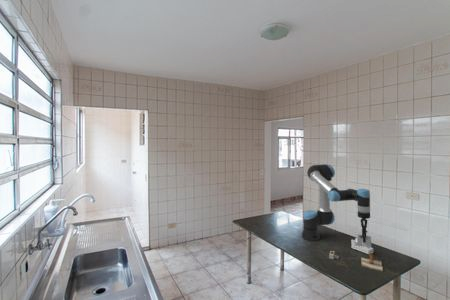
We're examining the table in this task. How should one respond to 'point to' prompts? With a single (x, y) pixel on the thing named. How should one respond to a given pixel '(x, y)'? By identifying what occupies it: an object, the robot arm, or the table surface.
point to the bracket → (361, 247)
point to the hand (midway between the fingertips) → (364, 244)
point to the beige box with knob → (331, 254)
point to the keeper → (371, 263)
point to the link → (361, 240)
